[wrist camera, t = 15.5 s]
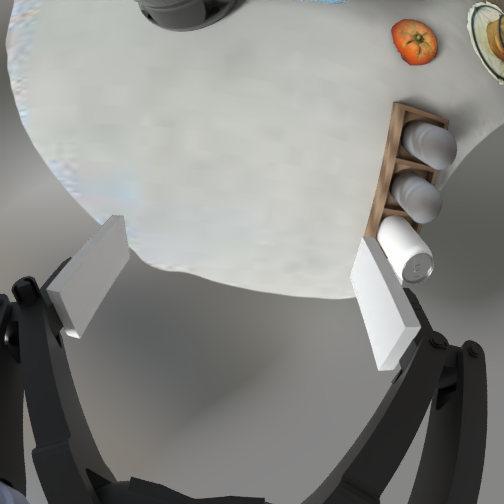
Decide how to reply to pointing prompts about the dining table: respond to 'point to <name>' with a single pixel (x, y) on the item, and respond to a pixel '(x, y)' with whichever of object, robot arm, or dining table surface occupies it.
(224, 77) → the dining table surface
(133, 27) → the dining table surface
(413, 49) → the tomato
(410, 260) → the can
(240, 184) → the dining table surface
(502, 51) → the decorative vase
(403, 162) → the socket rail
